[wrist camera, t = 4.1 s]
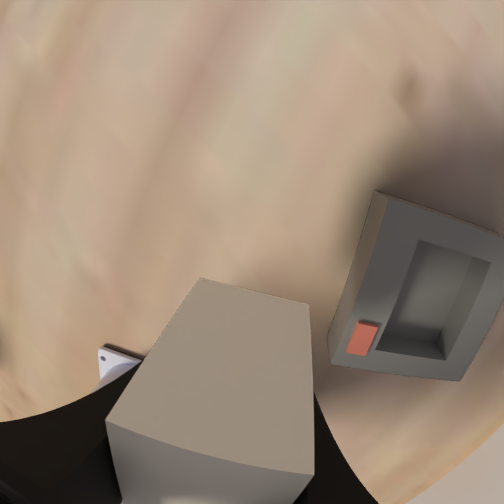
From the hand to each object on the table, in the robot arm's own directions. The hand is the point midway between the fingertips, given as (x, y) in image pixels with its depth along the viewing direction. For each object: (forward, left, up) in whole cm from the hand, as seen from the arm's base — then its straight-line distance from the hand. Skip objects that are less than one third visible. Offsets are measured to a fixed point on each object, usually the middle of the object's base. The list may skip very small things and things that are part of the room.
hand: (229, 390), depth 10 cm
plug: (0, 0, -4) cm, 4 cm away
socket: (+2, -10, -10) cm, 15 cm away
